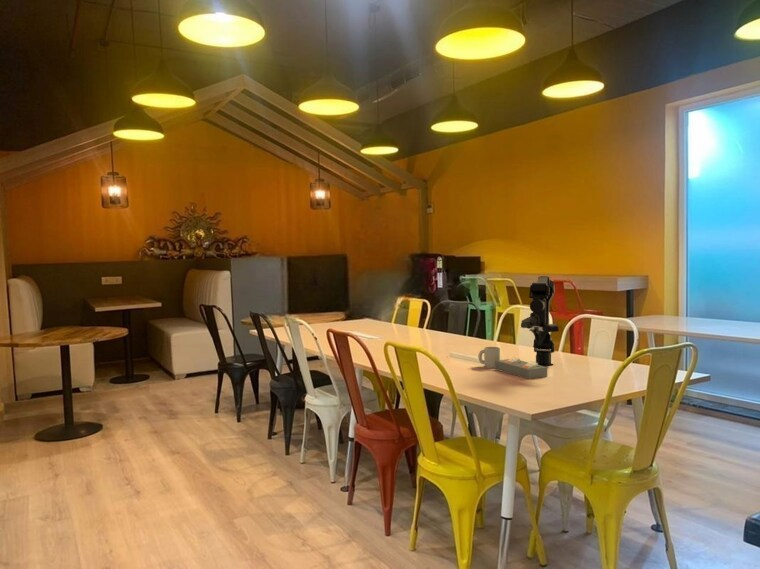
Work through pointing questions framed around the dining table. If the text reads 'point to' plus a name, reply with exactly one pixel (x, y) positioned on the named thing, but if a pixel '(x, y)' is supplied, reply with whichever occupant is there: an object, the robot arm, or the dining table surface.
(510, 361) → the rocker
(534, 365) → the rocker
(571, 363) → the dining table surface
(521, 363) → the grey rocker switch panel
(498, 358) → the cup
